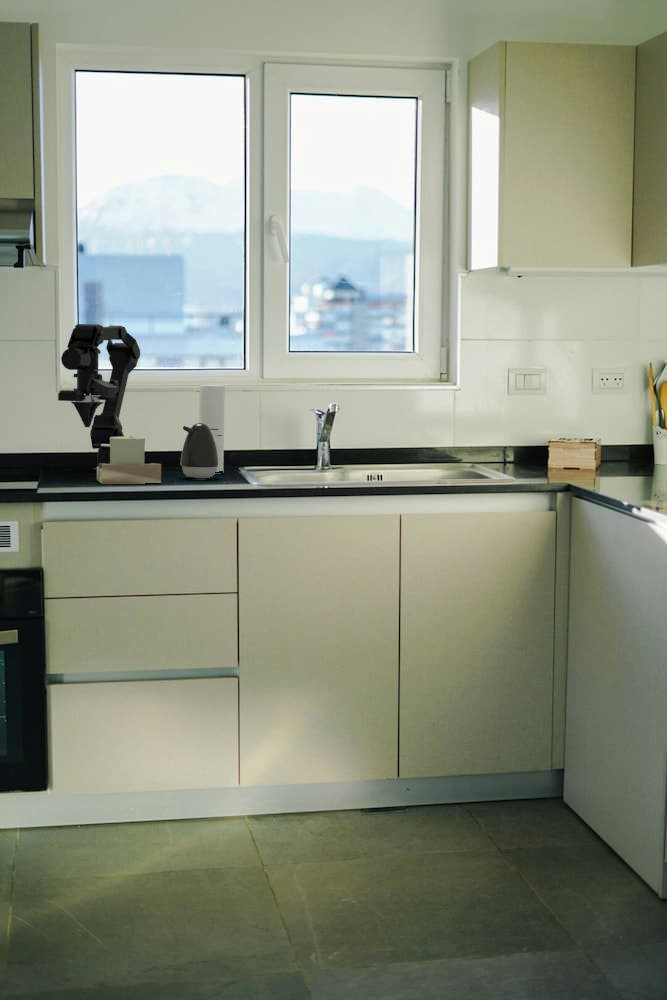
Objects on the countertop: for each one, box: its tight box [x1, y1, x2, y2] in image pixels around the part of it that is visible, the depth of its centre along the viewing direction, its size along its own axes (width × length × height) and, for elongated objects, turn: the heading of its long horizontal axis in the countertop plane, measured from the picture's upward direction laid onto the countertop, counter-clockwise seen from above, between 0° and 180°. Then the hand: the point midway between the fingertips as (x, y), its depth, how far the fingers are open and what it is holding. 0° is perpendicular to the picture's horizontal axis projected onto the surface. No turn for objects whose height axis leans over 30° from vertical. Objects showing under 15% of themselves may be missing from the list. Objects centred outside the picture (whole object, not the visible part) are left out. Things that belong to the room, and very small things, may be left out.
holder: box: [96, 462, 162, 485], centre depth 319 cm, size 10×15×5 cm
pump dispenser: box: [180, 422, 218, 479], centre depth 333 cm, size 10×10×15 cm
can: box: [109, 435, 146, 464], centre depth 319 cm, size 9×9×12 cm
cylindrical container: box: [198, 384, 226, 472], centre depth 353 cm, size 7×7×25 cm
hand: (87, 427), depth 336 cm, fingers closed
